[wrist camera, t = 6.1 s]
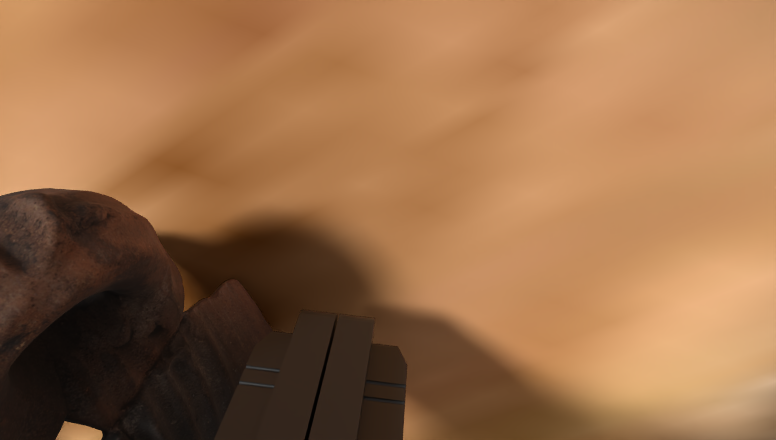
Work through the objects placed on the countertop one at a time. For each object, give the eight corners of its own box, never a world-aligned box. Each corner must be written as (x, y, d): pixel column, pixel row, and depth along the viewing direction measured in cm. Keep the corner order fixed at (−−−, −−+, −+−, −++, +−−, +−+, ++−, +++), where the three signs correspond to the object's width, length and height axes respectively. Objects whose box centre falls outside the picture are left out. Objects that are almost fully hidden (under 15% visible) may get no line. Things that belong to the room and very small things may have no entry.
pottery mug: (279, 516, 18) (-14, 843, 12) (75, 314, 20) (-252, 499, 14) (422, 239, 10) (-243, 801, 4) (59, -36, 12) (-684, 50, 6)
